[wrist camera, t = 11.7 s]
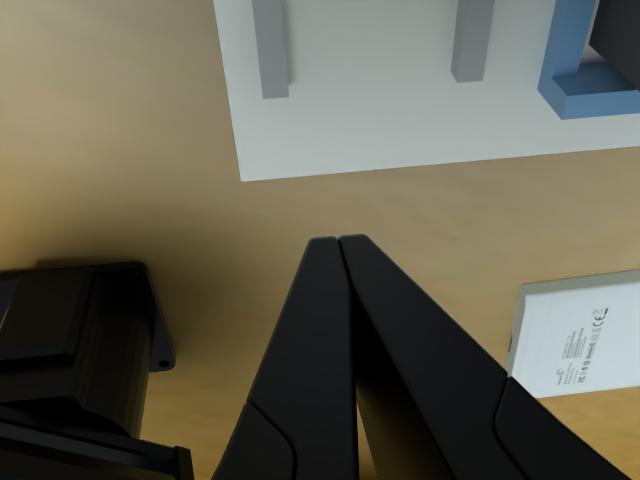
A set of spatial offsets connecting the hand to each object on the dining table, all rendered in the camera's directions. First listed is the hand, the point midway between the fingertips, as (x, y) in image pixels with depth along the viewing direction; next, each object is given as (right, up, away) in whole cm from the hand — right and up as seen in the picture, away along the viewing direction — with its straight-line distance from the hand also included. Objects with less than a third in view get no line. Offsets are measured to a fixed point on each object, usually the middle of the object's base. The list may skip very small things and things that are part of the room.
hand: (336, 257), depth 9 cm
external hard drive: (+15, -4, +21) cm, 27 cm away
